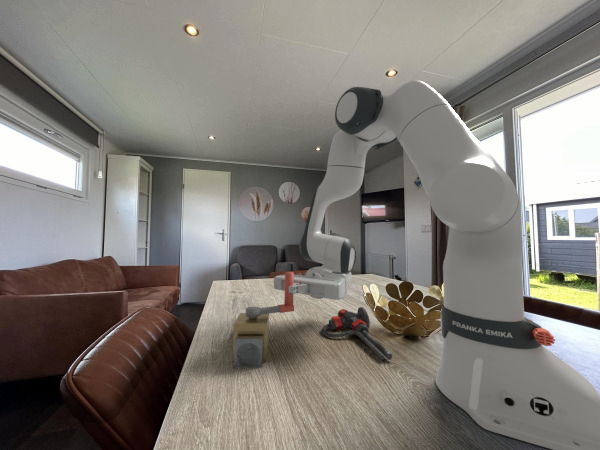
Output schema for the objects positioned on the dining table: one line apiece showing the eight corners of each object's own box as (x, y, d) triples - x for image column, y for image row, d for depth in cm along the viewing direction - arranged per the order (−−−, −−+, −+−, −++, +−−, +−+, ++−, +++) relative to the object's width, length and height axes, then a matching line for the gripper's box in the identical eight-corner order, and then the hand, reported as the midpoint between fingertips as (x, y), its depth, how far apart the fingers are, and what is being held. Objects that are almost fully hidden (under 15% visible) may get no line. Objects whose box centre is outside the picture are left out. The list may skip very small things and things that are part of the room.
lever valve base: (265, 367, 46) (266, 324, 47) (230, 367, 46) (232, 325, 46) (268, 342, 57) (269, 308, 58) (240, 343, 57) (241, 308, 57)
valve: (314, 328, 73) (357, 319, 76) (347, 382, 47) (409, 365, 50) (312, 309, 73) (355, 300, 76) (343, 352, 47) (406, 336, 50)
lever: (247, 318, 50) (249, 275, 51) (244, 314, 53) (245, 273, 54) (295, 311, 55) (296, 273, 56) (290, 308, 58) (290, 271, 59)
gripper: (290, 268, 72) (259, 273, 60) (352, 274, 60) (328, 282, 49) (290, 288, 71) (259, 297, 60) (352, 298, 60) (328, 311, 48)
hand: (290, 290), depth 54 cm, fingers closed, pressing on lever
